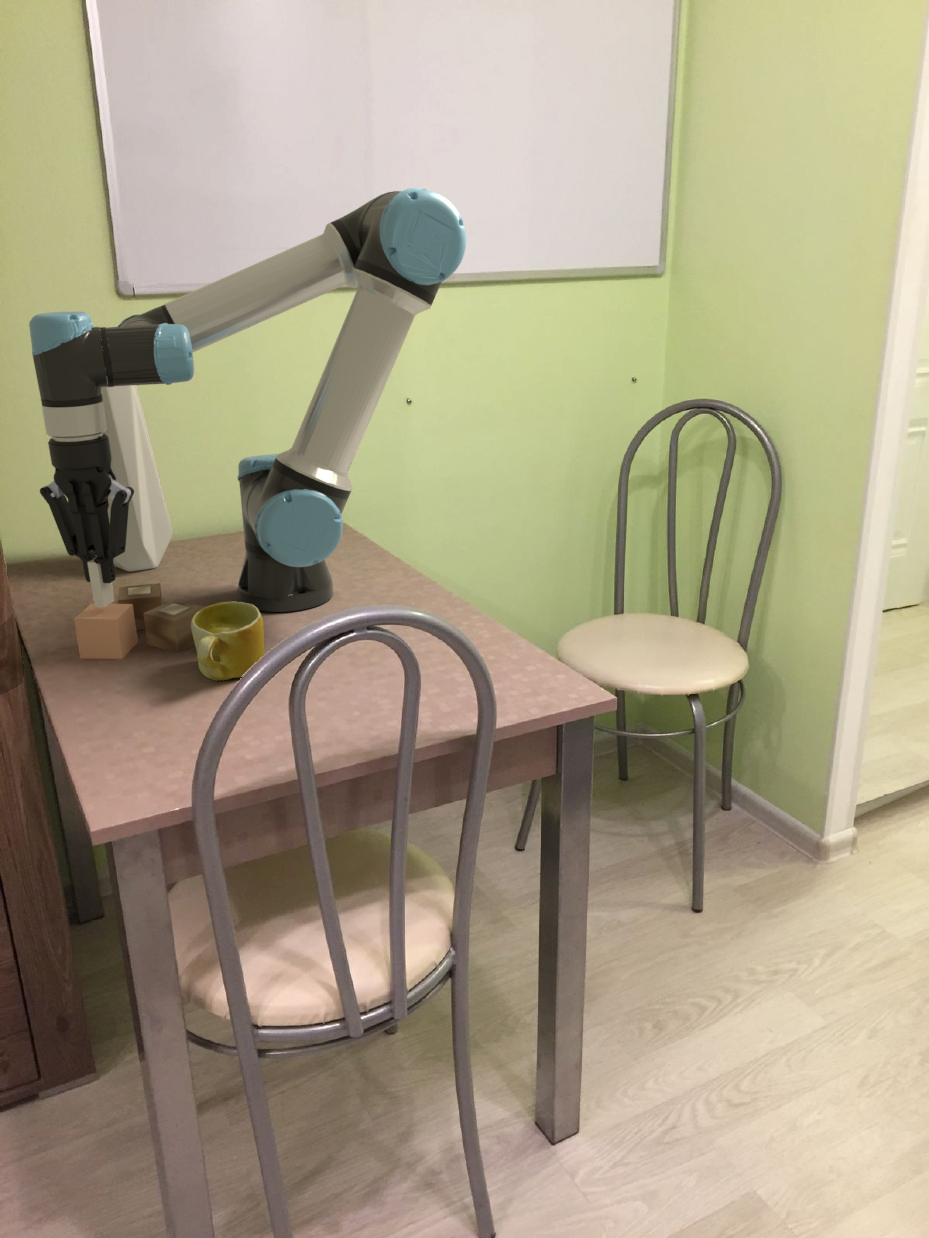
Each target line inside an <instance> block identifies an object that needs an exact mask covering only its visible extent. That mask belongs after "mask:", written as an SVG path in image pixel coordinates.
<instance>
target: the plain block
mask: <svg viewBox="0 0 929 1238" xmlns="http://www.w3.org/2000/svg"><path fill="white" fill-rule="evenodd" d="M73 622H74V625H75V626H74V627H75V634H76V639H77V646H78V653H79V657H80V659H94V660H95V659H97V660H98V659H100V660H101V659H104V660H105V659H106V660H108V659H109V660H116V659H117V660H123V659H124V658H125V657H126V656H127V655H128V654H129V652H130V651H131V650H133V648H134V647H135V646H136V645H137V644H138V643H139V642H138V641H139V640H138V635H137V634H138V633H137V629H136V625H135V618H134V610H133V604H118V603H110V604H109V605H107V606H106V607H95V606H94V602H93V603H90V604H89V605H88V606H86V608H85V609H83V610H82V611H81V612H80V613H79V614H77V615H76V616H75V617H74V618H73Z"/></svg>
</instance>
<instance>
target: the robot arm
mask: <svg viewBox="0 0 929 1238" xmlns="http://www.w3.org/2000/svg"><path fill="white" fill-rule="evenodd" d="M466 246H467V232H466V228H465V225H464V221H463V218H462V216H461V214H460V212H459V211H458V209H457V208H456V206H455V205H454V204H453V202H451V201H450V200H449V199H448V198H446V197H445V196H443V195H441V194H439V193H438V192H436V191H432V190H427V189H426V188H422V187H421V188H420V187H411V188H410V187H409V188H406V189H404V190H400V191H399V190H397V191H396V190H394V191H388V192H385V193H382V194H379V195H378V196H376V197H375V198H373V199H371V200H368V202H366V203H365V204H363V205H361V206H359V207H357V208H356V209H354V210H353V211H350V212H349V213H347V214H346V215H343V216H342V217H339V218H337V219H335V220H333V221H331V222H328V223H327V224H326V225H325V228H324V231H323V233H322V234H320V235H318V236H316V237H312V238H311V239H309V240H306V241H305V242H301V243H299V244H298V245H295V246H293V247H291V248H289V249H286V250H284V251H282V252H280V253H277V254H273V256H270V257H267V258H266V259H263V260H262V261H259V262H255V264H252V265H250V266H247V267H245V268H243V269H240V270H239V271H236V272H234V273H232V274H229V275H227V276H225V277H222V278H220V279H217V280H216V281H214V282H212V283H208V284H207V285H205V286H202V287H200V288H198V289H195V290H193V291H191V292H190V291H189V292H188V293H186V294H183V295H182V296H179V297H178V298H174V299H173V300H170V301H168V302H166V303H164V304H163V305H161V306H157V307H154V308H153V309H150V310H148V311H146V312H143V313H141V314H133V315H130V316H129V317H127V318H125V319H123V320H122V321H121V322H120V323H119V324H118V325H117V326H110V327H109V326H107V327H106V326H94V323H93V322H92V318H91V316H90V314H89V313H87V312H86V311H85V312H84V311H54V312H53V311H51V312H44V313H38V314H36V315H34V316H32V318H31V319H30V321H29V324H28V327H29V333H30V334H29V335H30V343H31V353H32V354H31V355H32V359H33V364H34V369H35V375H36V380H37V386H38V391H39V396H40V400H41V409H42V417H43V422H44V428H45V434H46V435H48V436H49V437H50V439H48V442H47V445H48V450H49V456H50V461H51V465H52V467H53V468H54V469H55V470H54V473H53V481H52V482H50V483H49V484H48V485H45V486H43V487H41V488H40V489H39V493H40V495H41V496H42V498H43V499H44V501H45V503H47V504H48V506H49V509H50V513H51V515H52V516H53V519H54V522H55V524H56V527H57V530H58V532H59V535H60V537H61V540H62V542H63V544H64V547H65V550H66V552H67V554H68V555H69V556H70V557H73V556H75V557H77V558H79V559H80V560H81V561H82V566H83V571H84V577H85V580H86V582H87V583H90V585H91V586H90V587H91V594H92V598H93V603H94V606H95V607H106V606H107V605H109V604H113V602H115V601H116V599H115V593H114V586H113V582H114V581H115V580H116V576H117V575H116V571H115V565H114V562H113V558H115V557H117V556H119V555H120V554H122V553H124V552H125V547H126V534H127V522H128V509H129V502H130V500H131V498H132V496H133V494H134V490H133V488H132V487H127V488H125V487H124V486H122V485H121V484H119V483H118V482H116V477H115V475H114V473H113V471H112V469H111V460H112V457H111V450H110V444H109V437H108V436H107V435H106V434H103V432H105V431H106V430H107V425H106V419H105V412H104V405H103V398H102V393H101V388H102V387H114V386H130V385H137V386H147V385H150V386H151V385H164V384H165V385H167V386H171V385H172V384H177V383H184V382H185V383H186V382H189V381H191V380H192V379H193V377H194V375H195V372H194V371H195V365H194V355H193V353H194V352H197V351H200V350H202V349H204V348H206V347H208V346H210V345H213V344H215V343H218V342H220V341H222V340H225V339H226V338H229V337H231V336H233V335H235V334H237V333H240V332H242V331H245V330H246V329H247V330H248V329H249V328H252V327H253V326H256V325H258V324H260V323H262V322H265V321H267V320H270V319H271V318H273V317H276V316H279V315H280V314H282V313H284V312H287V311H289V310H291V309H295V308H296V307H299V306H300V305H303V304H305V303H308V302H309V301H313V300H314V299H317V298H319V297H320V296H321V297H322V296H323V295H326V294H327V293H330V292H332V291H334V290H337V289H339V288H341V287H344V286H347V287H349V288H351V289H352V288H353V289H356V288H357V289H356V292H355V295H354V297H353V299H352V301H351V304H350V306H349V309H348V311H347V313H346V316H345V319H344V321H343V323H342V325H341V328H340V331H339V333H338V335H337V338H336V340H335V342H334V345H333V347H332V350H331V351H330V355H329V357H328V359H327V362H326V364H325V366H324V369H323V372H322V374H321V377H320V378H319V381H318V384H317V385H316V388H315V391H314V393H313V395H312V398H311V400H310V403H309V405H308V407H307V410H306V412H305V415H304V418H303V420H302V422H301V424H300V427H299V429H298V431H297V434H296V436H295V439H294V441H293V443H292V446H291V447H290V448H289V449H288V450H285V451H283V452H280V453H272V454H262V455H254V456H249V457H245V458H243V459H241V460H240V461H239V462H238V468H237V469H238V475H237V481H239V489H240V490H239V491H240V493H239V494H240V503H241V514H242V515H241V516H242V527H243V536H244V537H243V538H244V548H245V555H244V559H243V564H242V567H241V571H240V575H239V579H238V584H237V593H238V594H237V597H238V602H244V603H249V604H252V605H254V606H255V607H257V608H258V610H259V612H260V611H261V612H267V613H270V612H272V613H278V612H279V613H286V612H287V613H288V612H297V611H303V610H307V609H311V608H315V607H318V606H320V605H322V604H324V603H327V602H328V601H329V600H330V599H332V598H333V595H334V584H333V583H334V581H333V578H332V575H331V573H330V570H329V567H328V565H327V564H326V559H327V558H328V557H330V555H332V554H333V552H335V550H336V549H337V548H338V546H339V544H340V542H341V540H342V539H341V538H342V536H343V531H344V530H343V529H344V527H343V526H344V520H343V515H342V513H343V511H344V509H345V507H346V505H347V502H348V500H349V497H350V495H351V493H352V490H353V485H352V483H351V480H350V477H349V471H350V468H351V466H352V464H353V461H354V459H355V457H356V455H357V452H358V450H359V447H360V445H361V443H362V440H363V438H364V437H365V436H364V435H365V433H366V431H367V428H368V426H369V424H370V421H371V419H372V417H373V415H374V412H375V410H376V408H377V405H378V403H379V401H380V398H381V396H382V393H383V391H384V389H385V386H386V385H387V382H388V379H389V377H390V375H391V373H392V371H393V369H394V365H395V363H396V361H397V358H398V356H399V354H400V352H401V350H402V347H403V345H404V342H405V340H406V337H407V335H408V333H409V331H410V329H411V326H412V323H413V322H414V319H415V317H416V316H417V315H418V314H420V313H422V312H424V311H428V310H430V309H431V308H432V305H433V304H434V300H435V298H436V296H437V293H438V291H439V289H440V288H441V287H440V286H441V285H442V283H443V282H444V281H446V280H447V279H449V278H450V277H451V276H452V275H453V274H454V273H455V272H456V271H457V269H458V268H459V266H460V265H461V263H462V260H463V258H464V256H465V252H466ZM107 381H108V383H107ZM110 492H112V495H111V499H112V500H113V502H112V505H111V514H110V523H109V517H108V507H109V503H108V496H109V494H110Z"/></svg>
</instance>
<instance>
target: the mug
mask: <svg viewBox="0 0 929 1238" xmlns="http://www.w3.org/2000/svg"><path fill="white" fill-rule="evenodd" d="M204 607H205V608H203V609H201V610H200V611H198V612H197V613H196V614H195V615H194V616H193V618H192V621H191V629H192V635H193V639H194V643H195V645H194V646H195V649H196V654H197V657H196V659H197V663H198V669H199V672H201V674H202V675H203V676H204V677H205V678H207V679H209V680H211V679H212V681H218V680H219V682H221V680H222V681H227V680H231V679H234V678H235V679H239V678H241V676H242V675H243V674H244V673H245V672H246V671H247V670H248V669H249V668H250V667H251V666H252V665H253V664H254V663H255V662H257V661H258V660H259V659H260V657H262V656H263V655H264V656H265V630H264V629H265V628H264V619H263V616H262V613H261V612H260V611H259V610H258V608H257V607H255V606H254V605H252V604H249V603H244V602H240V601H236V600H235V601H222V602H221V601H220V602H217V603H213V604H211V605H207V606H204Z"/></svg>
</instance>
